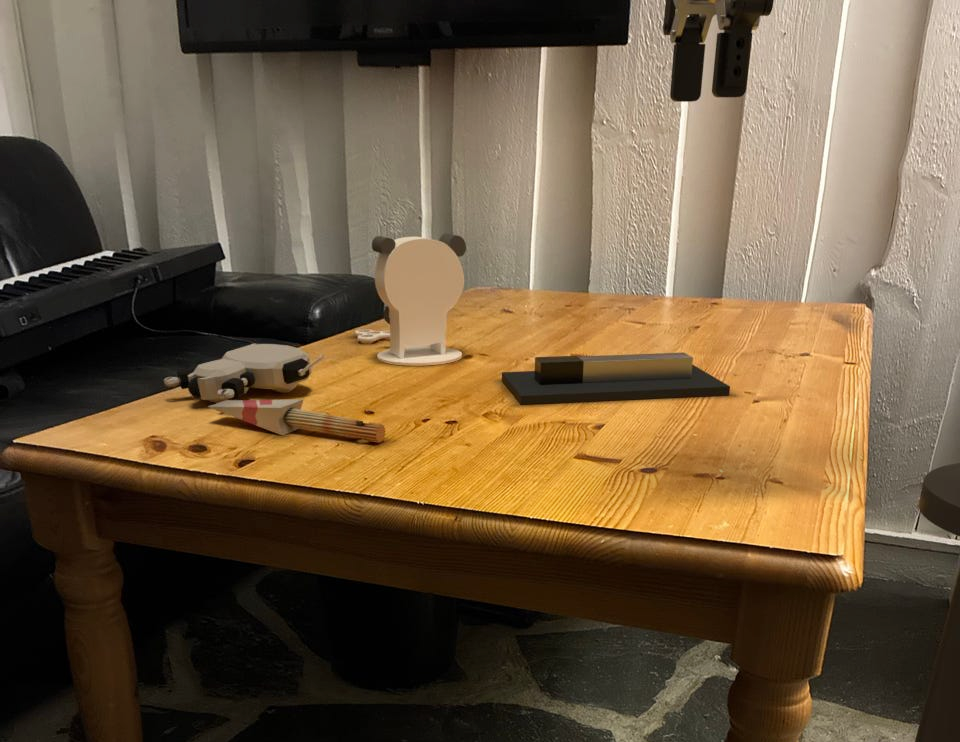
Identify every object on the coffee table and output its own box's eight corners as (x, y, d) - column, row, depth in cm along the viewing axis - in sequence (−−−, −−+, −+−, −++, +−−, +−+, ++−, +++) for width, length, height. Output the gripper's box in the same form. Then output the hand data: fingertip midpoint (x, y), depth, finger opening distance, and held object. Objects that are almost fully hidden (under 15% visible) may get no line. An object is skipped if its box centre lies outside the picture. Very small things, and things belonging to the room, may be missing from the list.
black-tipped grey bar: (540, 385, 106) (540, 362, 105) (534, 379, 109) (534, 357, 108) (691, 378, 109) (693, 356, 108) (681, 372, 112) (684, 351, 111)
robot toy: (231, 424, 99) (333, 387, 109) (223, 381, 97) (327, 348, 107) (161, 406, 106) (263, 373, 116) (152, 366, 104) (257, 336, 113)
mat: (691, 372, 116) (692, 364, 116) (729, 395, 106) (730, 386, 105) (501, 380, 113) (501, 372, 113) (521, 404, 103) (521, 395, 102)
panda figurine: (446, 345, 133) (443, 230, 126) (480, 360, 124) (479, 236, 117) (365, 353, 128) (358, 234, 121) (395, 368, 119) (389, 241, 112)
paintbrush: (227, 385, 98) (390, 415, 90) (230, 411, 99) (390, 443, 92) (202, 392, 95) (368, 424, 87) (204, 419, 96) (369, 453, 89)
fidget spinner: (354, 334, 140) (353, 329, 139) (396, 332, 141) (396, 327, 141) (358, 343, 134) (358, 337, 133) (403, 341, 135) (402, 335, 135)
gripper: (642, -162, 66) (626, 103, 74) (719, -233, 53) (690, 95, 61) (743, -158, 67) (717, 103, 75) (841, -227, 55) (798, 95, 62)
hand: (705, 99), depth 68 cm, fingers open, 8 cm apart
